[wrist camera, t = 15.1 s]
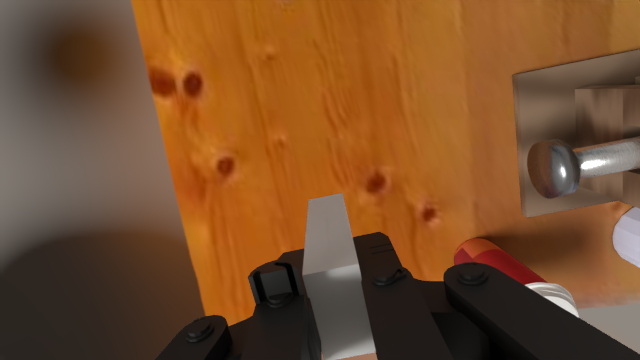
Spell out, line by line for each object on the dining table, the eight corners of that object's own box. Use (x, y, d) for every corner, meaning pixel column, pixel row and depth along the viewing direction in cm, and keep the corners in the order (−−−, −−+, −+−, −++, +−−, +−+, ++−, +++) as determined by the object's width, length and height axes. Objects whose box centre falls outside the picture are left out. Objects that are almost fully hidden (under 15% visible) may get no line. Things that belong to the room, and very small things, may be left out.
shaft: (525, 138, 37) (561, 147, 32) (704, 103, 37) (772, 106, 31) (528, 189, 39) (563, 206, 33) (701, 157, 38) (766, 168, 32)
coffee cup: (474, 296, 50) (538, 380, 36) (432, 261, 49) (481, 333, 34) (519, 254, 49) (605, 323, 34) (477, 216, 47) (548, 272, 33)
